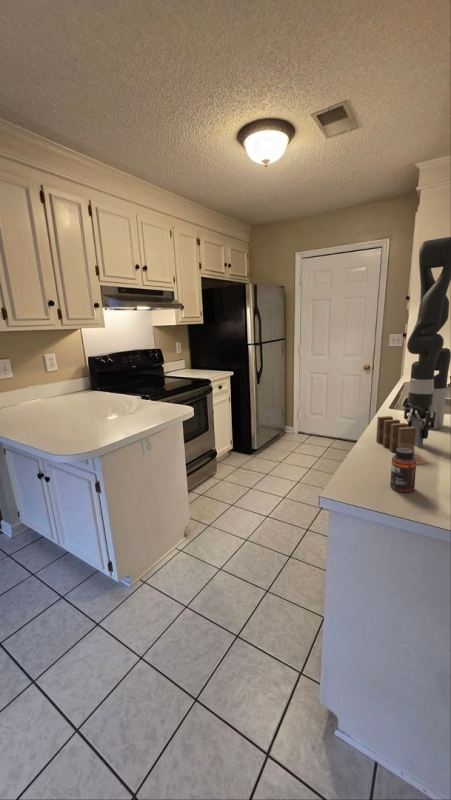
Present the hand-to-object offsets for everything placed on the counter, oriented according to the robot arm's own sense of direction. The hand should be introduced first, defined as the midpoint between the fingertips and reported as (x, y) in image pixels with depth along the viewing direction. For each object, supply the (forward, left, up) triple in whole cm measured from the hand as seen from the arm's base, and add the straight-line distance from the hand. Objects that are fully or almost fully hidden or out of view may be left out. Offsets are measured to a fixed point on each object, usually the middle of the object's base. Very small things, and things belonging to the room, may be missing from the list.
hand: (416, 435), depth 119 cm
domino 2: (+8, -5, -4) cm, 10 cm away
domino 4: (+12, +4, -4) cm, 13 cm away
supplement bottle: (+33, +17, -4) cm, 37 cm away
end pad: (+14, +8, -4) cm, 16 cm away
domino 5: (0, 0, -4) cm, 4 cm away
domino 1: (+6, -9, -4) cm, 11 cm away
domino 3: (+10, 0, -4) cm, 11 cm away
